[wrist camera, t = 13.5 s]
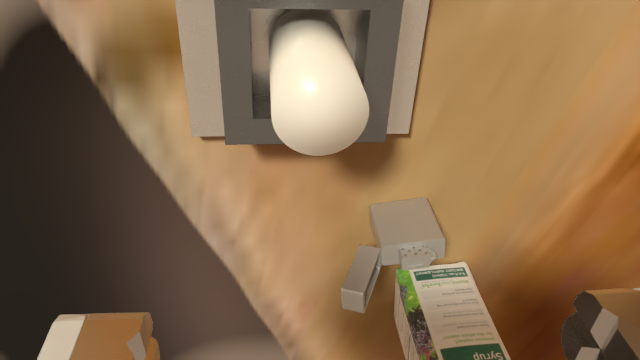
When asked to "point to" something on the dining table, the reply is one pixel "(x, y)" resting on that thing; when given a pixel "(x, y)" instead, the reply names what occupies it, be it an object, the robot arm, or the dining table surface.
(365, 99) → the white rounded cylinder
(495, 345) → the syrup box
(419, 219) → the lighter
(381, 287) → the dining table surface
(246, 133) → the fitting board
